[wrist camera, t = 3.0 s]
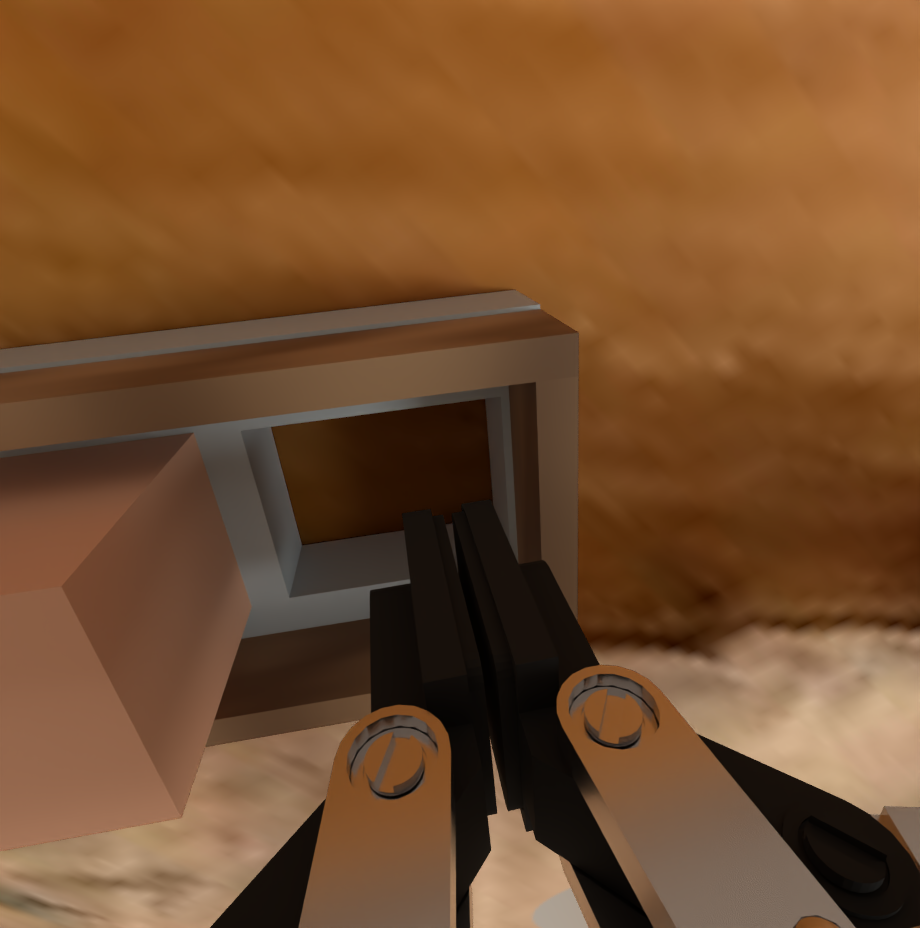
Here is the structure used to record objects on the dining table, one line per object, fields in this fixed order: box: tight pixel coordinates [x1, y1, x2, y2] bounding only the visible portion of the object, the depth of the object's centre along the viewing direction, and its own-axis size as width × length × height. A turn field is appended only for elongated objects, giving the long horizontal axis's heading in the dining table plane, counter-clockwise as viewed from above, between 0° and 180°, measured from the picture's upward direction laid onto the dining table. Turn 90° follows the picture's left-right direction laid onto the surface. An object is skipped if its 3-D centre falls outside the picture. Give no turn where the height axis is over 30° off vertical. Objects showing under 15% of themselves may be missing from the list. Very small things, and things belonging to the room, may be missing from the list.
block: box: [0, 433, 252, 851], centre depth 10 cm, size 5×5×6 cm
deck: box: [0, 290, 540, 639], centre depth 14 cm, size 22×9×2 cm, turn 95°
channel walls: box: [0, 309, 579, 747], centre depth 12 cm, size 14×9×3 cm, turn 95°
